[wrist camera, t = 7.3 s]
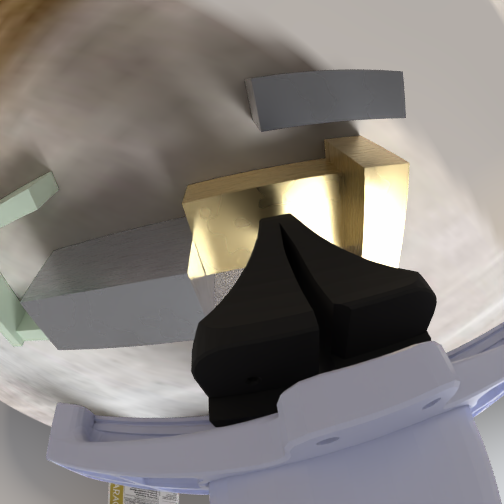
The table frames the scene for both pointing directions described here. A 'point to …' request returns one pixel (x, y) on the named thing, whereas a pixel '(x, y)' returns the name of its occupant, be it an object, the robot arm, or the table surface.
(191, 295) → the matte gray brick
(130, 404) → the table surface
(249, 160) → the table surface
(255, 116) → the socket
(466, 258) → the table surface
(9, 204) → the pale green c-shaped piece
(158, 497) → the juice carton
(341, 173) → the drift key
